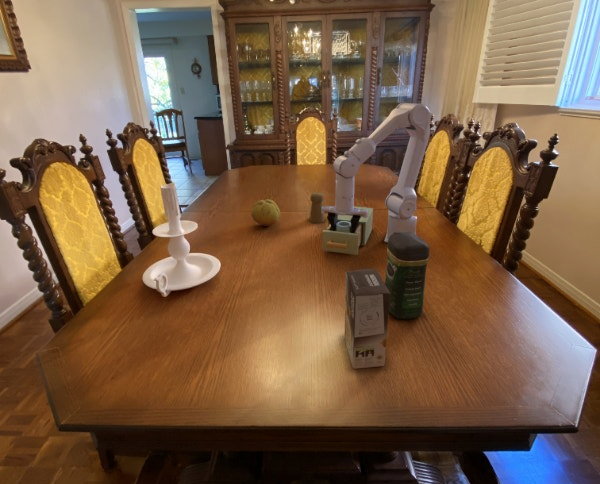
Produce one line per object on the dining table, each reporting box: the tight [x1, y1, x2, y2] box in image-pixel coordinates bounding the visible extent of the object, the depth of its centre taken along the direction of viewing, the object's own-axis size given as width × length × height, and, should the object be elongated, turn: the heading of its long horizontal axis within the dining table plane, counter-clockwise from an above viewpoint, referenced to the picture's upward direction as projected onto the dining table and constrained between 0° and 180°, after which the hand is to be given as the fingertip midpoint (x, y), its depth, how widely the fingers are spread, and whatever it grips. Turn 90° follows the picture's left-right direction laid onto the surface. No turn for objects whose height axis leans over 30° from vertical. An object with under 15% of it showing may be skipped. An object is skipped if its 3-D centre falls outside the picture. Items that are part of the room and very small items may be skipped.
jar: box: [336, 221, 351, 233], centre depth 111 cm, size 5×5×6 cm
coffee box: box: [343, 268, 390, 369], centre depth 66 cm, size 9×6×16 cm
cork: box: [309, 192, 326, 224], centre depth 136 cm, size 6×6×11 cm
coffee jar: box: [384, 231, 430, 320], centre depth 78 cm, size 10×8×19 cm
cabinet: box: [327, 205, 374, 247], centre depth 121 cm, size 15×13×8 cm
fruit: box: [250, 198, 281, 227], centre depth 132 cm, size 11×12×10 cm
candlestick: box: [141, 182, 221, 298], centre depth 90 cm, size 21×25×28 cm
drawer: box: [321, 224, 363, 256], centre depth 111 cm, size 18×11×7 cm, turn 160°
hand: (343, 235), depth 112 cm, fingers closed on jar, 5 cm apart
